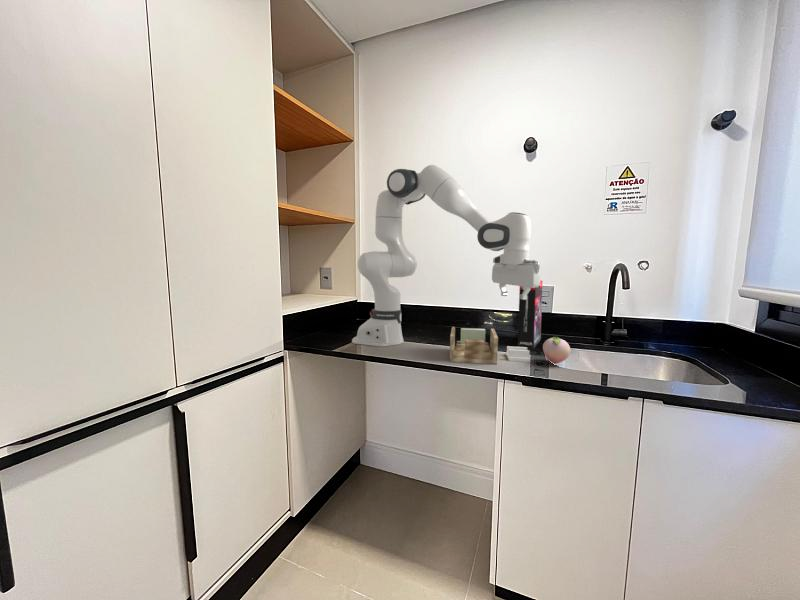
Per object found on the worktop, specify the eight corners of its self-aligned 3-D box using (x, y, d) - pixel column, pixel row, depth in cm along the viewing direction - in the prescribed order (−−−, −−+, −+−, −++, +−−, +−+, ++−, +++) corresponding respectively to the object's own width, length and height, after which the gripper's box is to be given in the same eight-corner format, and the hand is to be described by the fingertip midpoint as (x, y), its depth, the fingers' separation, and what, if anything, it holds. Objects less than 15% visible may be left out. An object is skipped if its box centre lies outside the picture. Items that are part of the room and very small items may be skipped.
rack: (449, 361, 115) (450, 335, 114) (451, 349, 131) (452, 326, 130) (497, 364, 112) (498, 337, 111) (493, 351, 128) (494, 328, 127)
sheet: (460, 349, 126) (461, 329, 125) (460, 348, 128) (460, 328, 127) (484, 350, 125) (485, 330, 124) (484, 349, 127) (484, 328, 126)
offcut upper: (466, 350, 114) (466, 341, 114) (465, 347, 118) (465, 339, 117) (483, 350, 114) (484, 342, 113) (482, 348, 117) (482, 339, 117)
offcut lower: (464, 358, 115) (464, 349, 115) (464, 355, 118) (464, 347, 118) (481, 359, 114) (482, 350, 114) (481, 356, 117) (481, 348, 117)
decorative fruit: (573, 368, 108) (575, 339, 107) (546, 367, 109) (548, 337, 108) (564, 360, 117) (566, 333, 116) (539, 359, 119) (541, 332, 118)
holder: (508, 360, 116) (509, 350, 116) (506, 354, 124) (506, 345, 124) (529, 362, 115) (530, 352, 115) (525, 355, 123) (526, 346, 122)
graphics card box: (533, 349, 131) (537, 281, 128) (515, 347, 135) (519, 281, 132) (540, 341, 146) (544, 279, 143) (524, 339, 150) (527, 279, 146)
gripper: (546, 260, 110) (543, 301, 112) (502, 258, 128) (500, 293, 130) (532, 260, 107) (529, 302, 109) (490, 258, 125) (487, 294, 127)
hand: (513, 297), depth 120 cm, fingers open, 8 cm apart
